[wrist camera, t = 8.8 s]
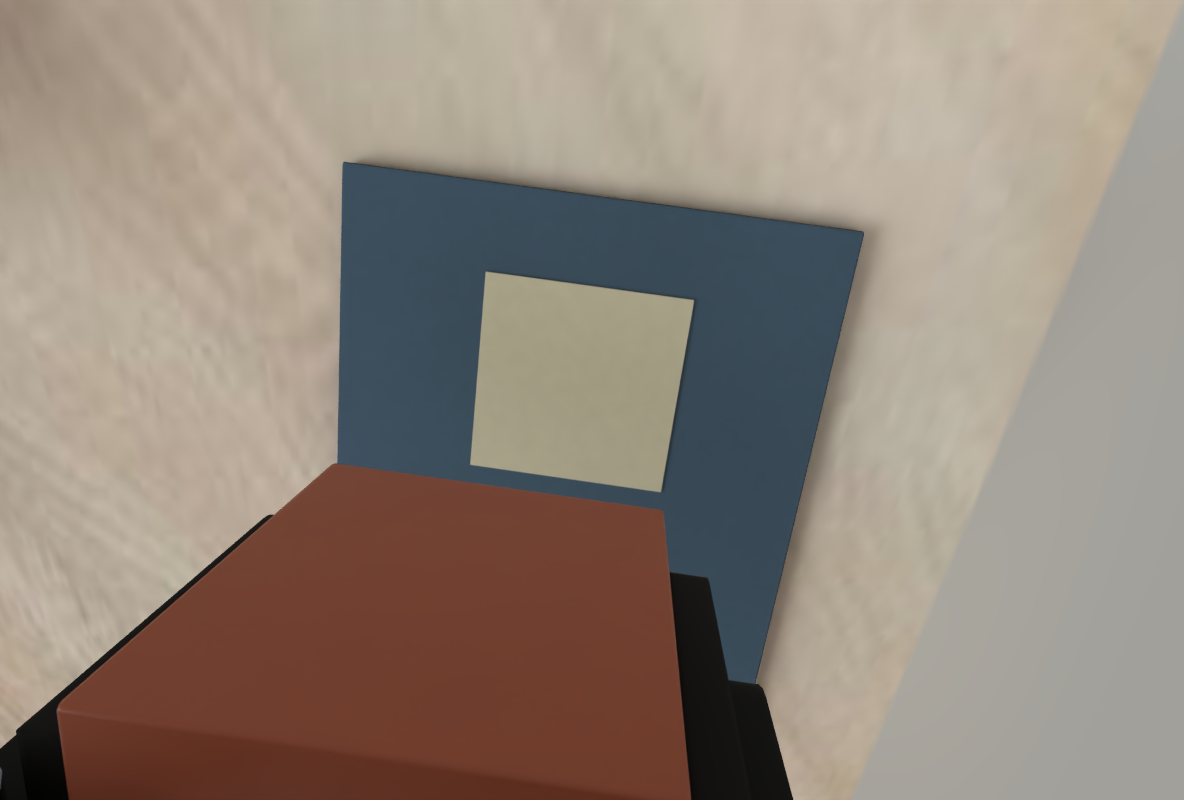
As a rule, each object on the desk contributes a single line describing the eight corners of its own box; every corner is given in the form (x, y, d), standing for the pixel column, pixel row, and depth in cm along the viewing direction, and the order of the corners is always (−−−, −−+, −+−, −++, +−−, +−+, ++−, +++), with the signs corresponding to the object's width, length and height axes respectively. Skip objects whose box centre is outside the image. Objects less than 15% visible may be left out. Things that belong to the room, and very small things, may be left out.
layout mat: (859, 231, 20) (866, 232, 20) (725, 786, 27) (728, 801, 26) (350, 162, 21) (340, 161, 20) (338, 726, 27) (330, 739, 26)
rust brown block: (664, 508, 9) (695, 815, 4) (618, 772, 10) (605, 1211, 6) (331, 460, 9) (38, 715, 4) (330, 729, 10) (100, 1127, 6)
